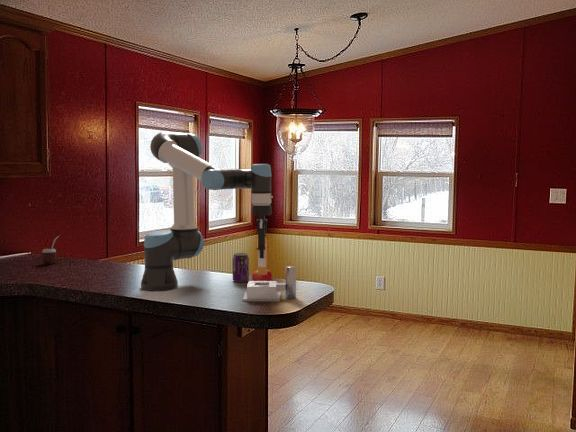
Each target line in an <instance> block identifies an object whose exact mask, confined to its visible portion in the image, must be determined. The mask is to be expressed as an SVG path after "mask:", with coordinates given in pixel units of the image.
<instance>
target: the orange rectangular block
mask: <svg viewBox="0 0 576 432" xmlns="http://www.w3.org/2000/svg"><path fill="white" fill-rule="evenodd" d="M256 241H257V243H256V244H257V245H256V246H257V248H258V237H257V239H256ZM267 243H268V239H267V236H266V237H265V254H266V267H258V266H257V270H258V275H266V274H267V270H268V248H267V246H268V244H267ZM256 250H257V249H256ZM256 253H257V256H258V250H257V252H256Z"/></svg>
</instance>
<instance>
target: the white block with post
mask: <svg viewBox="0 0 576 432" xmlns="http://www.w3.org/2000/svg"><path fill="white" fill-rule="evenodd" d="M282 292H285V299H286V300H295V299H297V266H294V265H289V266H288V265H287V266H285V282H278V281H277V280H271V281H253V280H248V282H247V286H246V291H244V294H243V297H242V302H281V296H282V295H281V293H282Z"/></svg>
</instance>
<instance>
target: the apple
mask: <svg viewBox="0 0 576 432" xmlns="http://www.w3.org/2000/svg"><path fill="white" fill-rule="evenodd" d="M272 274H273V273H272V271H271V270H269V269H267V274H266V275H258V269H256V270H254V271H253V273H252V275H251V281H273V280H272V279H273V275H272Z"/></svg>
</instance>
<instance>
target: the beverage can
mask: <svg viewBox="0 0 576 432" xmlns="http://www.w3.org/2000/svg"><path fill="white" fill-rule="evenodd" d="M248 255H249V254H248V253H245V252H244V253H243V252H240V253H239V252H238V253H237V252H236V253H233V256H232V281H233V282H236V283H245V282H247V281H250V265H249V263H250V261H249V260H250V259H249V256H248Z"/></svg>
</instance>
